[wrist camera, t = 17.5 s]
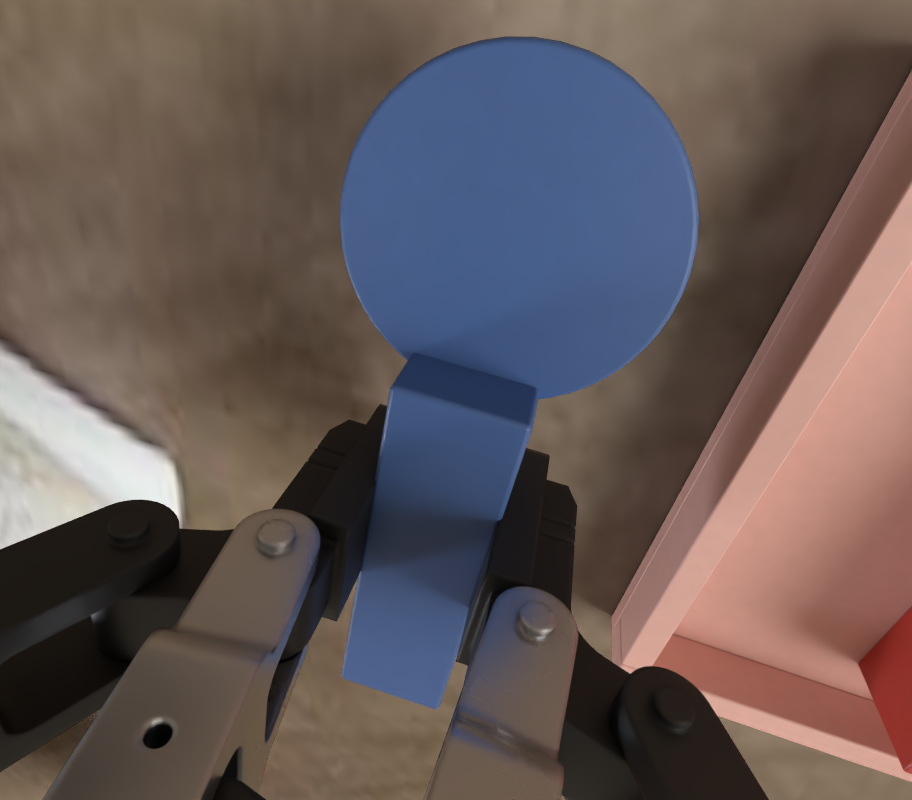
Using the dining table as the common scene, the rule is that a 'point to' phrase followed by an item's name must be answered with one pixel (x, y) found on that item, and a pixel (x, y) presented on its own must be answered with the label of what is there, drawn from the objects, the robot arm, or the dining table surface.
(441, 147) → the blue spoon
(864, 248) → the rose tray
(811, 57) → the dining table surface
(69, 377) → the dining table surface
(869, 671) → the red spoon
